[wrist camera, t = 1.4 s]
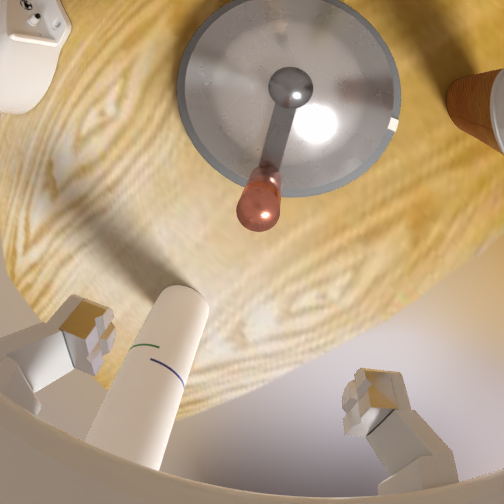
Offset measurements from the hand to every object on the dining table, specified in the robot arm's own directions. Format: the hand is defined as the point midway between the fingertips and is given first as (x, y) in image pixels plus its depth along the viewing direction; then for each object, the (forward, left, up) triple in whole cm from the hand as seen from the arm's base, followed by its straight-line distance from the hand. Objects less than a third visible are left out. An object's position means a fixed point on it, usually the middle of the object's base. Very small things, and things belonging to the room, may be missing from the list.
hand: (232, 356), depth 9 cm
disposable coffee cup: (-3, +23, -24) cm, 34 cm away
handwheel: (-7, +4, -22) cm, 23 cm away
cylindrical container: (+14, -16, -24) cm, 32 cm away
